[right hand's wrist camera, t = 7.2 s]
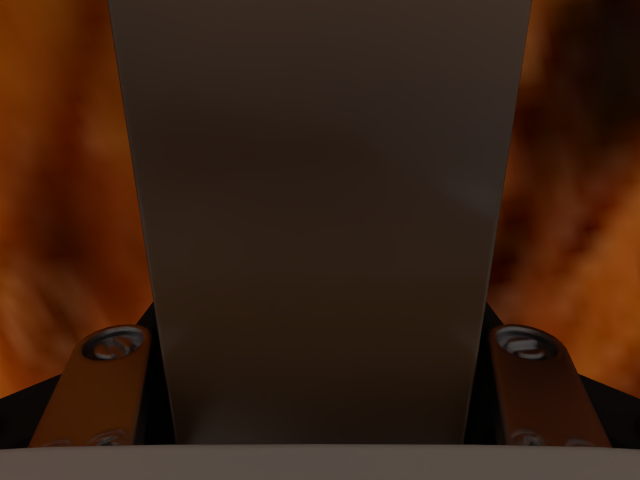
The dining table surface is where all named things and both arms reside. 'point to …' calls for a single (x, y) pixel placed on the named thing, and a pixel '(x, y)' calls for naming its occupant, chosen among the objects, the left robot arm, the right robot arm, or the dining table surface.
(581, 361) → the dining table surface
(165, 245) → the bar
